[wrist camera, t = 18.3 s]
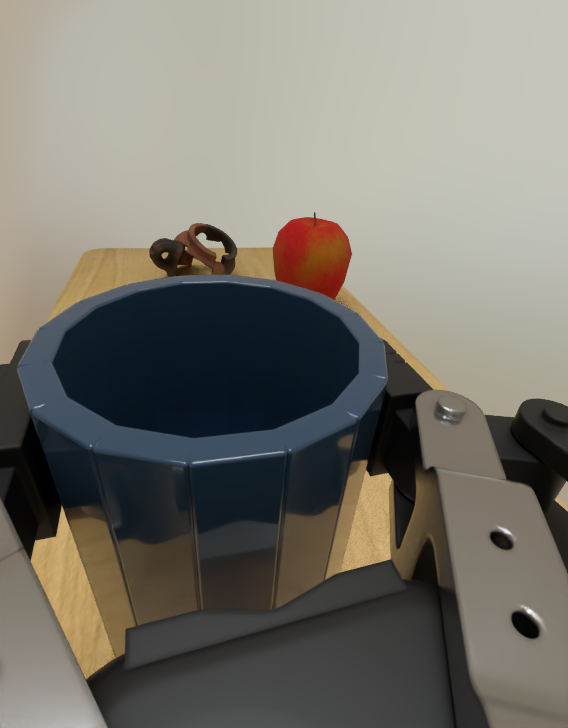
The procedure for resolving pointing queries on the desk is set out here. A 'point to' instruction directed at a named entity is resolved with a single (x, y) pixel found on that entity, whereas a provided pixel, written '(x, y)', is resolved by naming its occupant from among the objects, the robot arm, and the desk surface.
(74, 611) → the desk surface
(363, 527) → the desk surface
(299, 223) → the apple
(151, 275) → the desk surface
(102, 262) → the desk surface
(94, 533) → the cup
